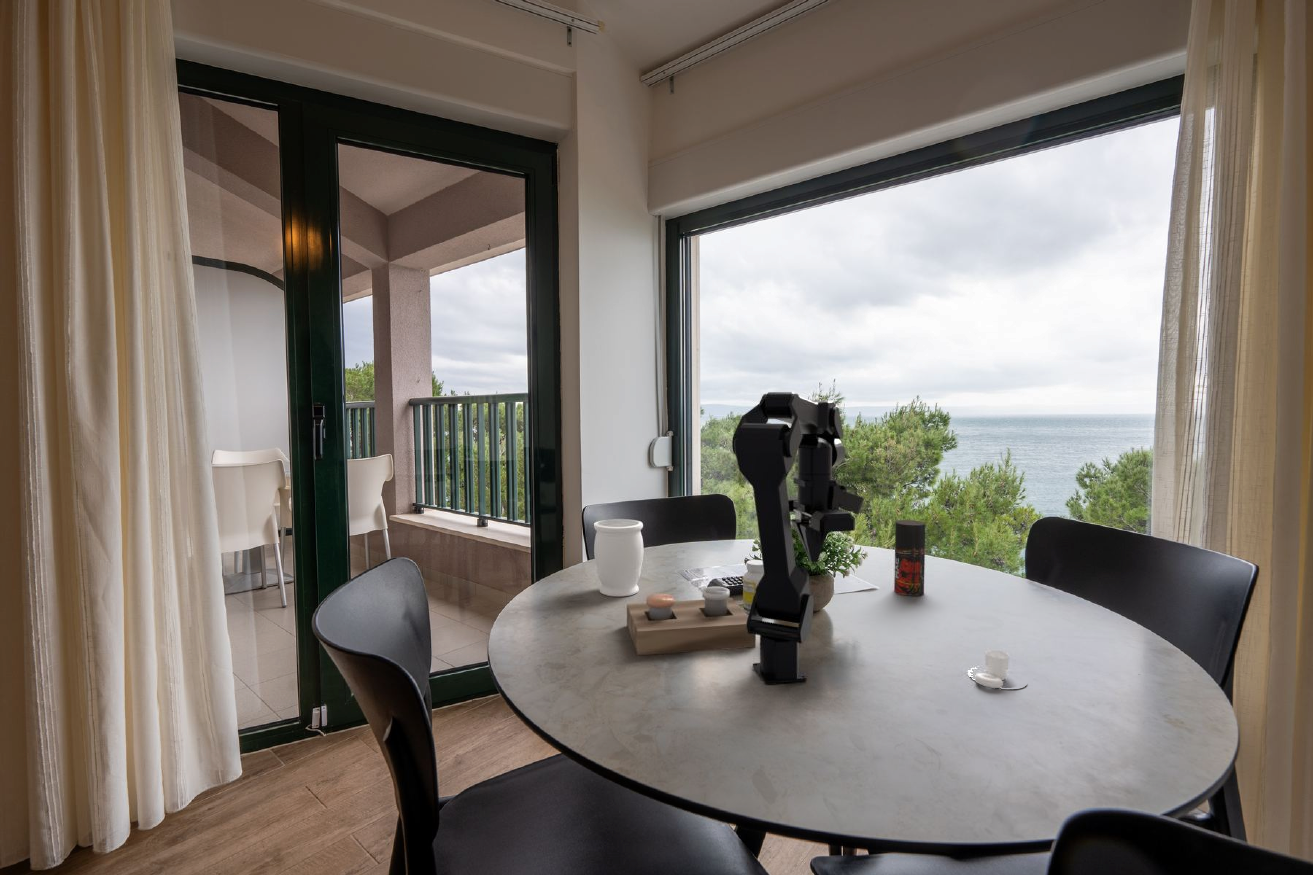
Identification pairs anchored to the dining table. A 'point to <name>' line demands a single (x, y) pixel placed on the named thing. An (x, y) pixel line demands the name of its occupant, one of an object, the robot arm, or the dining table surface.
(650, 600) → the plug
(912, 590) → the deodorant
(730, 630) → the wooden socket block
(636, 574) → the jar
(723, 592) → the plug
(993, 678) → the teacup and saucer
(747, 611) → the supplement bottle
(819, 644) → the dining table surface
